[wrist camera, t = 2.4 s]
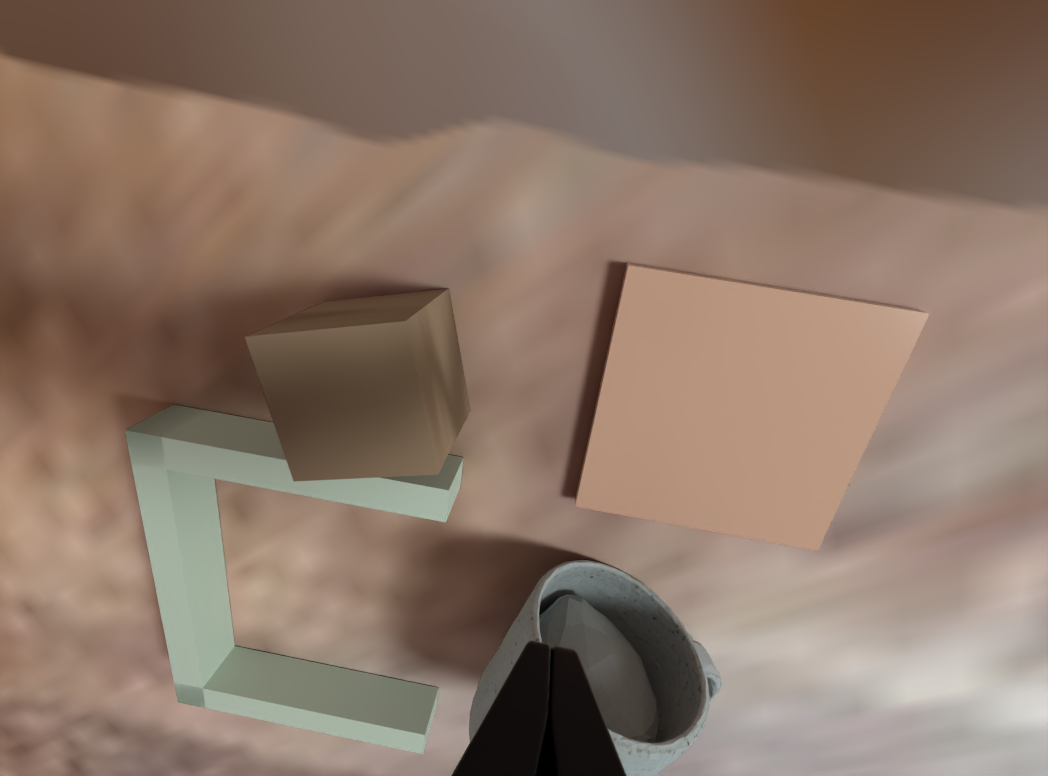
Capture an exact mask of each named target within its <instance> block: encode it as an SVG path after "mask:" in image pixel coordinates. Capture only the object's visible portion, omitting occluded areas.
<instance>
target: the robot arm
mask: <svg viewBox="0 0 1048 776" xmlns="http://www.w3.org/2000/svg"><path fill="white" fill-rule="evenodd" d="M452 776H627V775H626V773H625V770H624V768H623V765H622V763H621V760H620V758H619V755H618V753H617V750H616V748H615V745H614V743H613V740H612V738H611V735H610V733H609V730H608V728H607V725H606V723H605V720H604V718H603V715H602V713H601V710H600V708H599V705H598V703H597V700H596V698H595V695H594V692H593V690H592V687H591V685H590V682H589V680H588V677H587V675H586V672H585V670H584V667H583V665H582V662H581V660H580V657H579V655H578V653H577V651H576V650H575V649H572V648H567V647H562V646H557V645H556V646H553V647H552V648H551V646H550V645H549V644H547V643H542V642H537V641H529V642H527V644H526V645H525V647H524V649H523V650H522V652H521V654H520V656H519V657H518V659H517V661H516V663H515V665H514V666H513V668H512V670H511V672H510V673H509V675H508V677H507V679H506V680H505V682H504V684H503V686H502V687H501V689H500V691H499V693H498V694H497V696H496V698H495V700H494V702H493V703H492V705H491V707H490V709H489V710H488V712H487V714H486V716H485V717H484V719H483V721H482V723H481V724H480V726H479V728H478V730H477V731H476V733H475V735H474V737H473V739H472V740H471V742H470V744H469V746H468V747H467V749H466V751H465V753H464V754H463V756H462V758H461V760H460V761H459V763H458V765H457V767H456V768H455V770H454V772H453V774H452Z"/></svg>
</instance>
